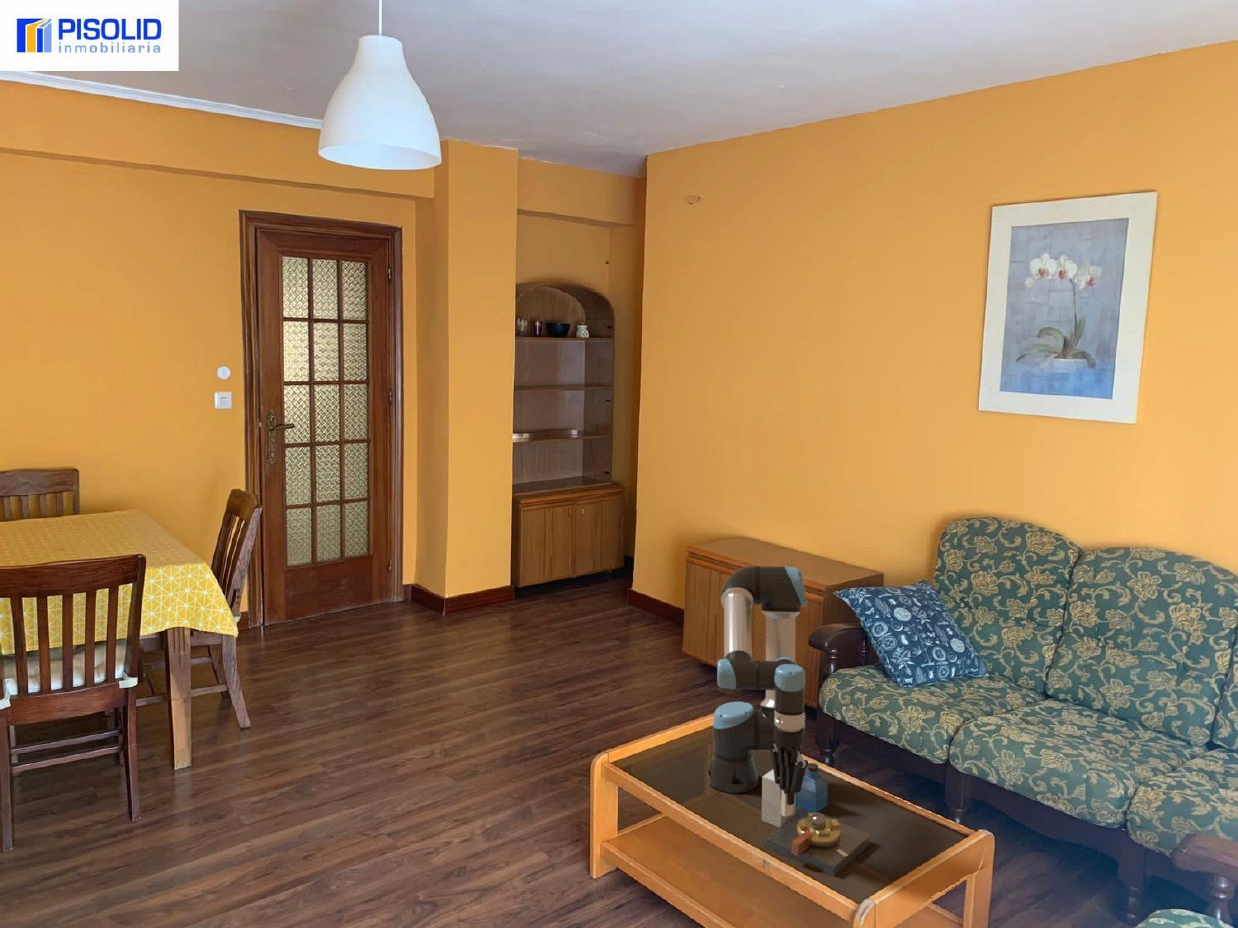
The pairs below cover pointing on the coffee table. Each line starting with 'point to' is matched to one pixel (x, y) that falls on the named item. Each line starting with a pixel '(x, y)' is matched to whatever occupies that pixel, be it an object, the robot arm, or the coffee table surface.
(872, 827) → the coffee table surface
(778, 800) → the small box
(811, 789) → the perfume bottle
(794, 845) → the gold tabbed disc
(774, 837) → the flange plate
